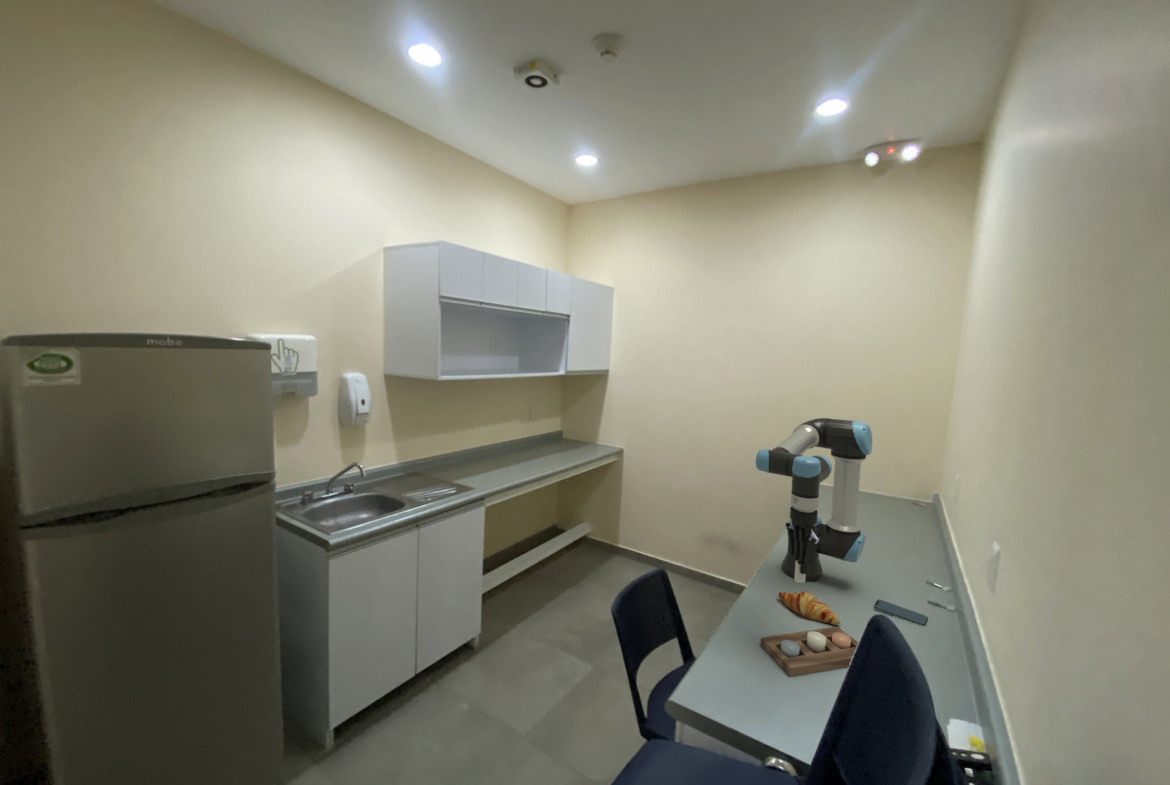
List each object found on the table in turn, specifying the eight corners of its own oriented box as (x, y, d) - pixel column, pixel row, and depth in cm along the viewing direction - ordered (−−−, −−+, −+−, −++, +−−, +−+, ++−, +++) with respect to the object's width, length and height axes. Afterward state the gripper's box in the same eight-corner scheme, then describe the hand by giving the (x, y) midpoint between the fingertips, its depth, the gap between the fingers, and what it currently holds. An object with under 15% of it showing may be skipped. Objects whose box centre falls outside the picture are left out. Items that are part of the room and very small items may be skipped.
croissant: (842, 633, 156) (848, 609, 158) (832, 630, 150) (839, 606, 152) (780, 605, 172) (787, 583, 174) (770, 601, 166) (776, 579, 168)
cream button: (803, 643, 142) (803, 632, 142) (817, 641, 143) (817, 630, 143) (814, 653, 137) (815, 642, 137) (829, 651, 138) (829, 640, 138)
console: (760, 645, 144) (760, 637, 144) (837, 633, 150) (837, 626, 150) (790, 676, 130) (791, 668, 130) (873, 662, 137) (873, 654, 137)
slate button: (776, 652, 140) (777, 641, 140) (791, 649, 141) (792, 638, 141) (787, 663, 135) (788, 651, 135) (802, 660, 136) (803, 649, 136)
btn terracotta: (827, 644, 144) (828, 633, 144) (841, 641, 145) (842, 631, 145) (840, 654, 139) (840, 643, 139) (854, 652, 141) (854, 641, 140)
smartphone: (925, 625, 155) (873, 606, 165) (924, 630, 155) (872, 610, 165) (928, 616, 160) (878, 598, 170) (927, 620, 160) (877, 602, 170)
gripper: (779, 501, 146) (775, 572, 149) (808, 517, 134) (803, 594, 137) (800, 499, 148) (795, 569, 151) (830, 514, 136) (825, 591, 138)
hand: (799, 581), depth 144 cm, fingers closed
